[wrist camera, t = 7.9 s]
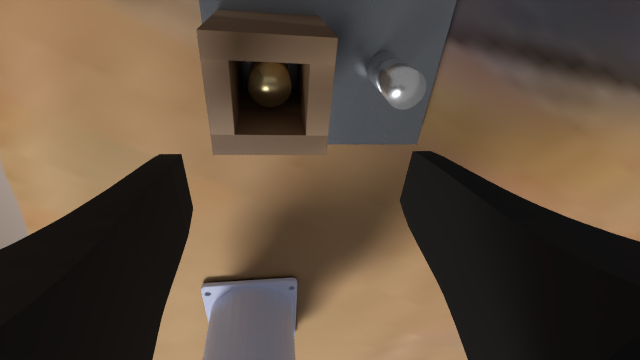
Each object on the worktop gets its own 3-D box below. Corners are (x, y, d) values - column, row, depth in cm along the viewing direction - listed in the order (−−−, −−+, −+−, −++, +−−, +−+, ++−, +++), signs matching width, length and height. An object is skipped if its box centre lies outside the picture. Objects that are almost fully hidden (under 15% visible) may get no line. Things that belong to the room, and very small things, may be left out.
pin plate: (409, 135, 21) (439, 173, 17) (220, 134, 19) (208, 177, 15) (452, -29, 15) (509, -26, 12) (197, -52, 14) (171, -56, 10)
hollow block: (312, 109, 17) (325, 154, 13) (226, 107, 17) (213, 154, 13) (318, 16, 15) (337, 37, 11) (217, 9, 14) (196, 29, 10)
